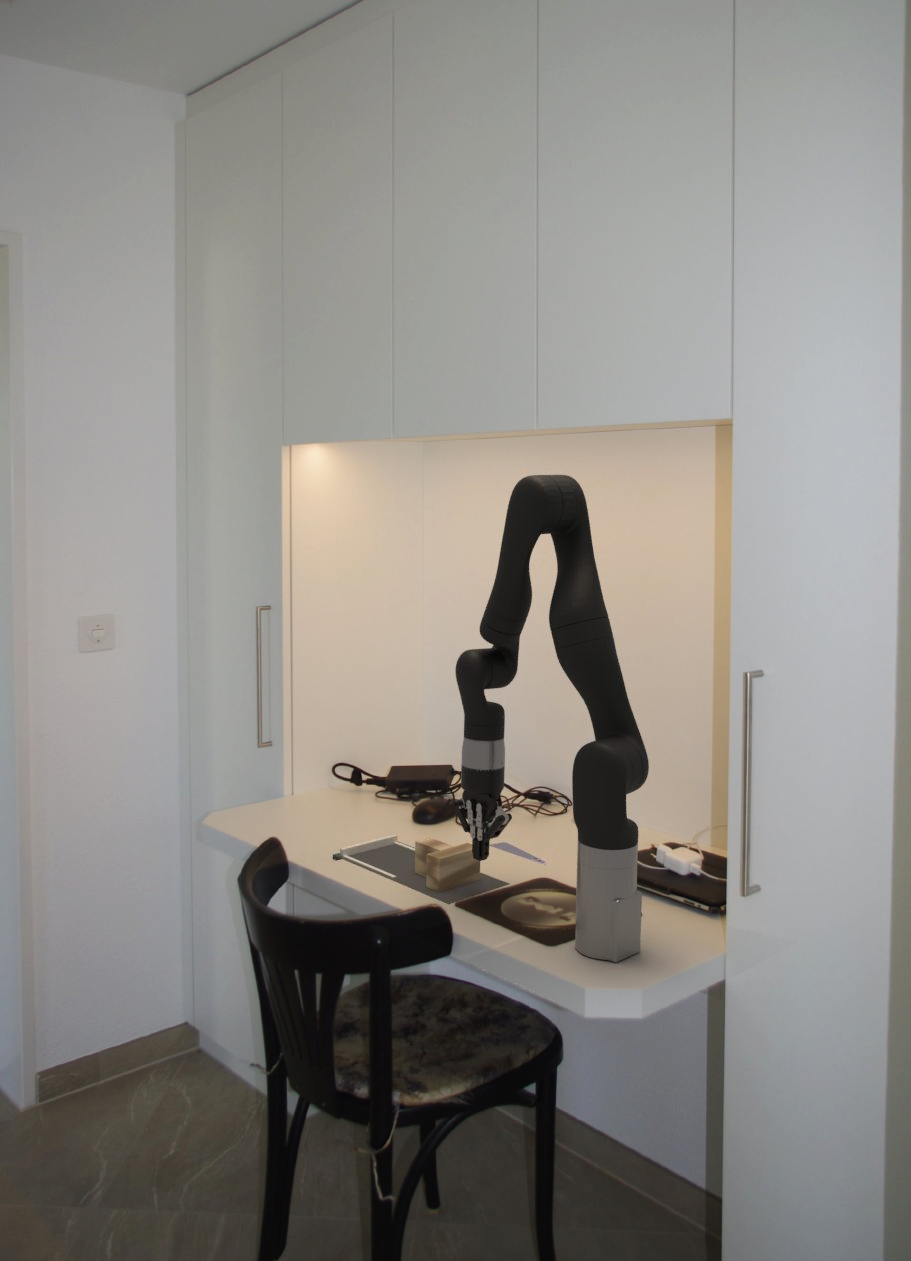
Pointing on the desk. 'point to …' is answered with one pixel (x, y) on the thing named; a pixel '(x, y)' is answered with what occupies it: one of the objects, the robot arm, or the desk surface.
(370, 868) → the desk mat
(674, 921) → the desk surface
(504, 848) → the lavender triangular plate
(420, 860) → the T block
